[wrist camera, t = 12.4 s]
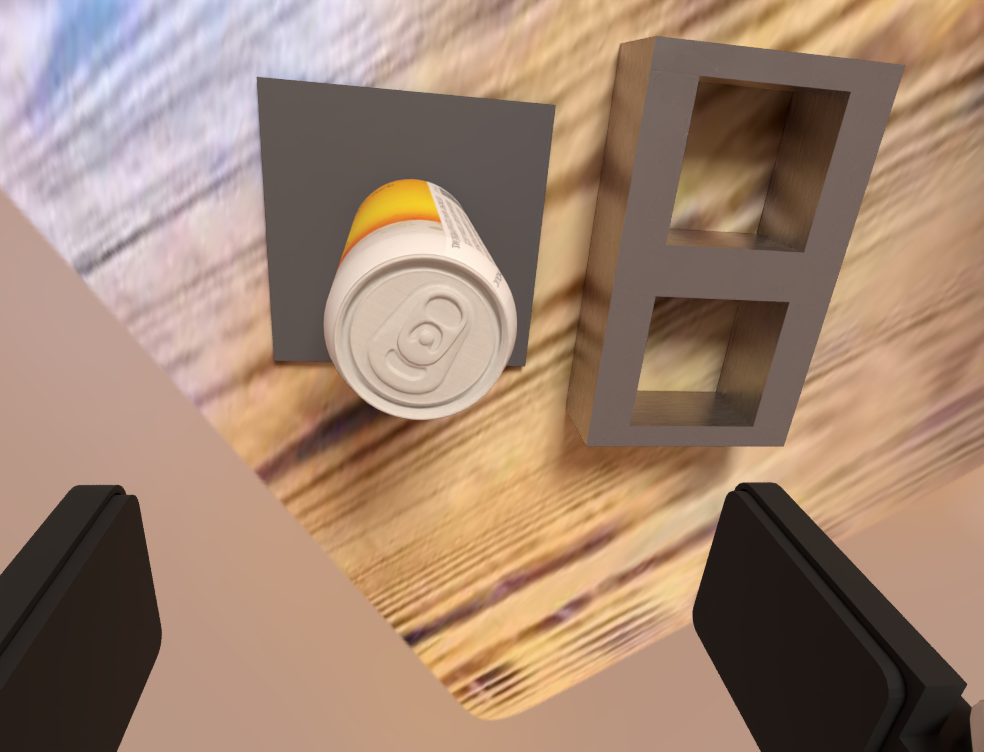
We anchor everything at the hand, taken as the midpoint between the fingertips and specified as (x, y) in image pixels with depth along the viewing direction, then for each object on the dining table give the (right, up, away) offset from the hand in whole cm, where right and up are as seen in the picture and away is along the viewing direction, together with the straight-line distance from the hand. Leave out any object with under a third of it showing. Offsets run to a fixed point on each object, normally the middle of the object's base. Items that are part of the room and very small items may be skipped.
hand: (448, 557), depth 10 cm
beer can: (-3, +10, +22) cm, 25 cm away
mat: (-4, +10, +23) cm, 25 cm away
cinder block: (+12, +10, +25) cm, 30 cm away
